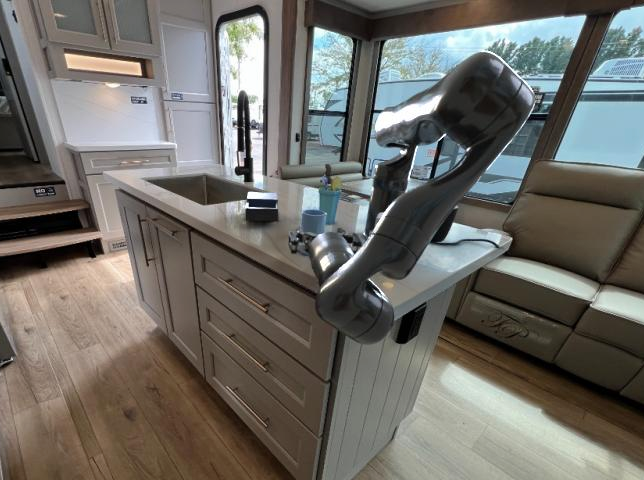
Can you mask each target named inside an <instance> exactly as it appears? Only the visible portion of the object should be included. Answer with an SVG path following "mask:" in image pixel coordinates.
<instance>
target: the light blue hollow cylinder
mask: <svg viewBox="0 0 644 480" xmlns="http://www.w3.org/2000/svg"><path fill="white" fill-rule="evenodd" d="M325 221H326V212H324V211H321V210H319V209H304V210H302V211H301V223H300V224H301V226H300V227H302V228H303V231H304V232H305V233H307V232H311V233H314V234H317V235H319V234H322V233H325V232H326V231H325V229H326V224H325ZM310 239H311V237H310ZM303 241H304V238H303ZM299 252H300V253H301V254H303V255H307V256H309V255H308V253H307V252H306V251H305V250H299Z"/></svg>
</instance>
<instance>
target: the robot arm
mask: <svg viewBox="0 0 644 480" xmlns="http://www.w3.org/2000/svg"><path fill="white" fill-rule="evenodd" d="M535 103H536V95H535V93H534V91H533V90H532V87H530V85H528V83H527V82H526V81H525V80H524V79H523V78H521V77H520V76H519V75H518V74H517V72H516V71H514V69H513V68H511V67H510V66H509V65H508V64H507V63H506V62H505V61H504V60H503V59H502V58H501V57H500V56H498V55H497V54H495V53H493V52H491V51H488V50H482V51H478V52H476V53H473V54H471V55H470V56H468V57H466V58H465V59H464V60H462V61H461V62H459V63H458V64H457V65H456V66H455V67H453V68H452V69H451V70H450V71H448V72H447V73H446V74H445V75H444V76H442V77H441V78H440V79H439V80H437V82H435V83H434V84H432V85H431V86H429V87H427V88H425V89H423V90H421V91H418V92H417V93H415V94H413V95H412V96H410V97H409V98H408V99H406V100H404V101H402V102H400V103H399V104H396V105H394V106H387V107H385V108H384V109H382V111H381V112H380V113H379V115H378V117H377V120H376V123H375V127H374V137H375V142H376V144H377V145H378V146H379V147H381V148H385V149H399V152H398V154H397V155H396V156H394V157H392V158H390V159H387V160H385V161H381V162H379V163H377V164H376V165H375V168H374V172H373V178H372V185H371V191H370V197H369V202H368V210H367V214H366V221H365V226H364V232H363V237H364V238H365V242H364V243H363V241H362V239H361V237H360V236H359V234H358V233H355V232H352V233H351V234H349V232H347V231H345V230H344V229H343V228H342V227H337V229H336V232H333V231H327V232H326V231H325V232H324V233H322V234H319V235H317V234H314V233H311V232H307V233H305V232H304V231H303V228H302V227H301V226H298V228H296V229H295V232H294V231H288V241H287V244H288V248H289V251H290V253H291V254H293V255H295V254H298V252H300V250H305V251H306V252H307V253H308V255H307V256H308V259H309V262H310V266H311V269H312V272H313V274H314V277H315V279H316V280H317V282H318V283H317V284H318V286H319V289H318V290H317V293H316V295H315V301H314V309H315V313H316V315H317V316H318V318H320V319H321V321H323V322H324V323H326V324H328V325H329V326H331V327H332V328H333V329H335V330H336V331H338V332H339V333H341V334H343V335H344V336H346V337H348V338H349V339H351V340H352V341H354V342H355V343H358V344H361V345H364V346H365V345H367V346H370V345H371V346H372V345H375V344H378V343H380V342H382V341H384V340H385V339H386V338H387V337H389V335H390V333H391V331H392V330H393V327H394V324H395V311H394V307H393V304H392V303H391V300H390V299H389V298H388V297H387V296H386V294H385V293H384V292H383V291H382V289H380V288H379V287H378V286H377V285H376V284H375V283H374V282H373V280H371V278H372V277H373V276H375V275H376V274H377V275H379V276H381V277H384V278H386V279H389V280H392V281H402V280H405V279H406V278H407V277H408V276H410V275H411V273H412V271H413V269H415V266H416V265H417V263H418V262H419V260H420V259H421V257H422V256H423V254H424V252H425V251H426V249H427V247H428V246H429V245H430V244H432V245H437V246H456V245H459V244H460V243H462V242H485V243H489V244H491V245H493V246H494V247H495V248H496V249H500V246H499V244H498V243H496V242H495V241H493V240H490V239H486V238H463V239H462V238H461V239H459V240H457V241H455V242H454V241H453V242H431V240H432V238H433V236H434V235H435V233H436V232H437V230H438V229H439V227H440V226H441V224H442V223H443V222H444V220H445V219H446V218H447V216H448V215H449V214H450V212H451V211H452V210H453V209H454V207H455V206H458V204H459V203H460V202H461V201H462V200H463V198H464V197H465V196H467V194H468V193H469V191H470V190H471V189H472V188H473V187H474V185H476V183H477V182H478V181H479V180H480V178H481V177H482V176H483V175H484V174H485V173H486V172H487V171H488V170H489V168H490V167H491V166H492V165H493V163H494V162H495V161H496V160H497V158H498V157H500V155H501V154H502V153H503V151H504V150H505V149H506V148H507V146H509V144H510V143H511V142H512V140H513V139H514V138H515V136H517V134H518V133H519V131H520V130H521V129H522V127H523V126H524V125H525V123H526V122H527V120H528V119H529V117H530V115H531V114H532V112H533V110H534V106H535ZM445 136H446V137H448V138H450V140H452V141H453V142H454V143H455V144H456V145H457V146H458V147H460V148H461V149H462V150H463V153H462V155H461V156H460V158H459V160H458V161H457V162H456V163H455V164H454V165H453V166H452V167H450V168H449V169H447V171H445V172H443V173H441V174H438V175H437V176H434V177H433V178H431V179H429V180H427V181H425V182H422V183H419V184H418V185H415V186H414V187H411V188H409V189H408V190H407V188H408V185H409V181H410V176H411V173H412V169H413V166H414V161H415V157H416V152H417V149H418V147H426V146H429V145H432V144H435V143H437V142H438V141H440V140H441V139H442V138H444V137H445ZM379 213H384V214H383V215H382V217H381V218H380V220H379V222H378V223H377V225H376V226H375V223H376V218H377V216H378V214H379ZM310 237H311V239H310ZM303 238H304V241H303Z"/></svg>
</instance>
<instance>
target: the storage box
mask: <svg viewBox="0 0 644 480" xmlns="http://www.w3.org/2000/svg"><path fill="white" fill-rule="evenodd" d="M278 197H279V195H278V193H277V192H260V191H259V192H255V191H248V192H247V196H246V204H245V221H250V222H251V221H253V222H256V221H257V222H278V221H279V198H278Z"/></svg>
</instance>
